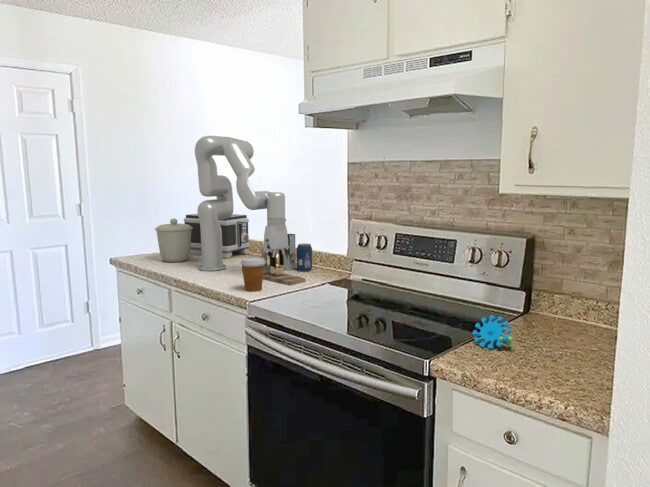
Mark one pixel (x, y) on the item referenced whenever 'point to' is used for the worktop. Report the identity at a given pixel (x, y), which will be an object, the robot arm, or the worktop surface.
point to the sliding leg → (277, 269)
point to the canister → (174, 241)
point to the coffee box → (289, 254)
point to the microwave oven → (223, 234)
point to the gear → (493, 333)
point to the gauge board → (281, 278)
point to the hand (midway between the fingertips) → (276, 265)
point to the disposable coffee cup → (253, 273)
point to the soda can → (304, 257)
